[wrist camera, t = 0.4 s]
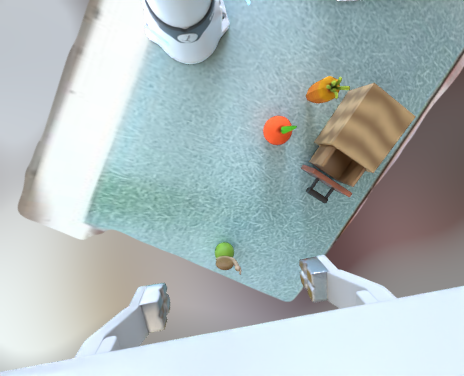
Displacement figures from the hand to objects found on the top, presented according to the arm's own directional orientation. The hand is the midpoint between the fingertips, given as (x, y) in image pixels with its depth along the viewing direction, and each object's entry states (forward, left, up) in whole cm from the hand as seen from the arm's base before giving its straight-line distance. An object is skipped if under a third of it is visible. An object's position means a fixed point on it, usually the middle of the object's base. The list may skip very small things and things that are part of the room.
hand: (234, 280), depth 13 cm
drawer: (+4, +30, -45) cm, 54 cm away
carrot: (-14, +25, -46) cm, 54 cm away
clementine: (-7, +16, -46) cm, 49 cm away
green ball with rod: (+24, -2, -46) cm, 52 cm away
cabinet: (-4, +36, -46) cm, 59 cm away
